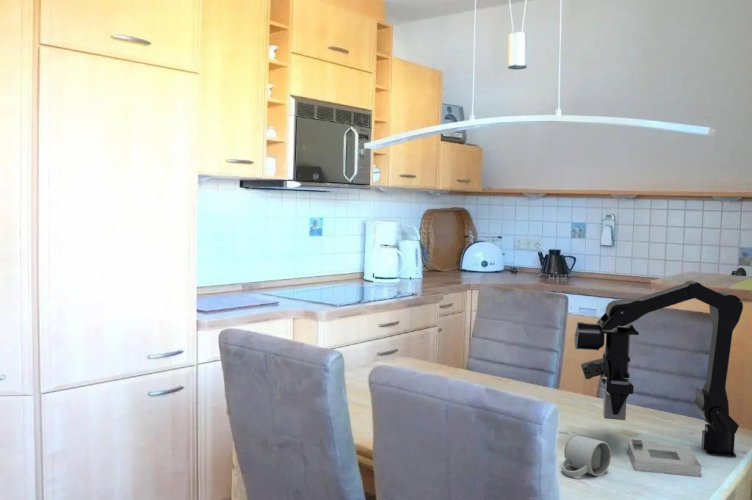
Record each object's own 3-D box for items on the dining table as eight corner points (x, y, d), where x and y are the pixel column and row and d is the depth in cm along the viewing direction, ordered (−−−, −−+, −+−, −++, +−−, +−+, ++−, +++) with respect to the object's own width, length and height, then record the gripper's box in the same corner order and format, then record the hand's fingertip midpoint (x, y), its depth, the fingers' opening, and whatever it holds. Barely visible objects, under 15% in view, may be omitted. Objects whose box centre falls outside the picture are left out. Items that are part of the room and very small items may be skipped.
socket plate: (688, 456, 171) (689, 443, 170) (700, 476, 158) (701, 462, 158) (627, 450, 174) (628, 438, 173) (635, 470, 161) (635, 456, 161)
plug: (623, 415, 179) (624, 390, 178) (625, 420, 175) (626, 394, 174) (602, 413, 180) (604, 388, 179) (604, 418, 176) (605, 392, 175)
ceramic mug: (581, 461, 166) (582, 429, 165) (611, 472, 160) (612, 439, 159) (552, 471, 160) (553, 438, 159) (582, 483, 153) (583, 449, 153)
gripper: (581, 341, 187) (579, 399, 188) (586, 356, 169) (583, 420, 170) (625, 344, 184) (622, 402, 186) (635, 360, 166) (632, 424, 167)
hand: (614, 412), depth 177 cm, fingers closed on plug, 4 cm apart
